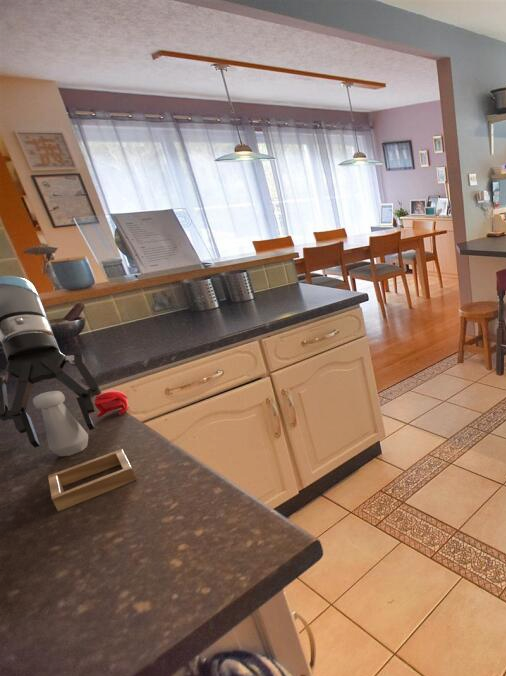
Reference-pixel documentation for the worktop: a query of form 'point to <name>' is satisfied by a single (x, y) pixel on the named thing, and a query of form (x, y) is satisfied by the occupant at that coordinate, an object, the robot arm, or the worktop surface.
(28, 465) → the worktop surface
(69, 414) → the salt shaker
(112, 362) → the worktop surface
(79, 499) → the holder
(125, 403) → the cap
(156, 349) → the worktop surface
